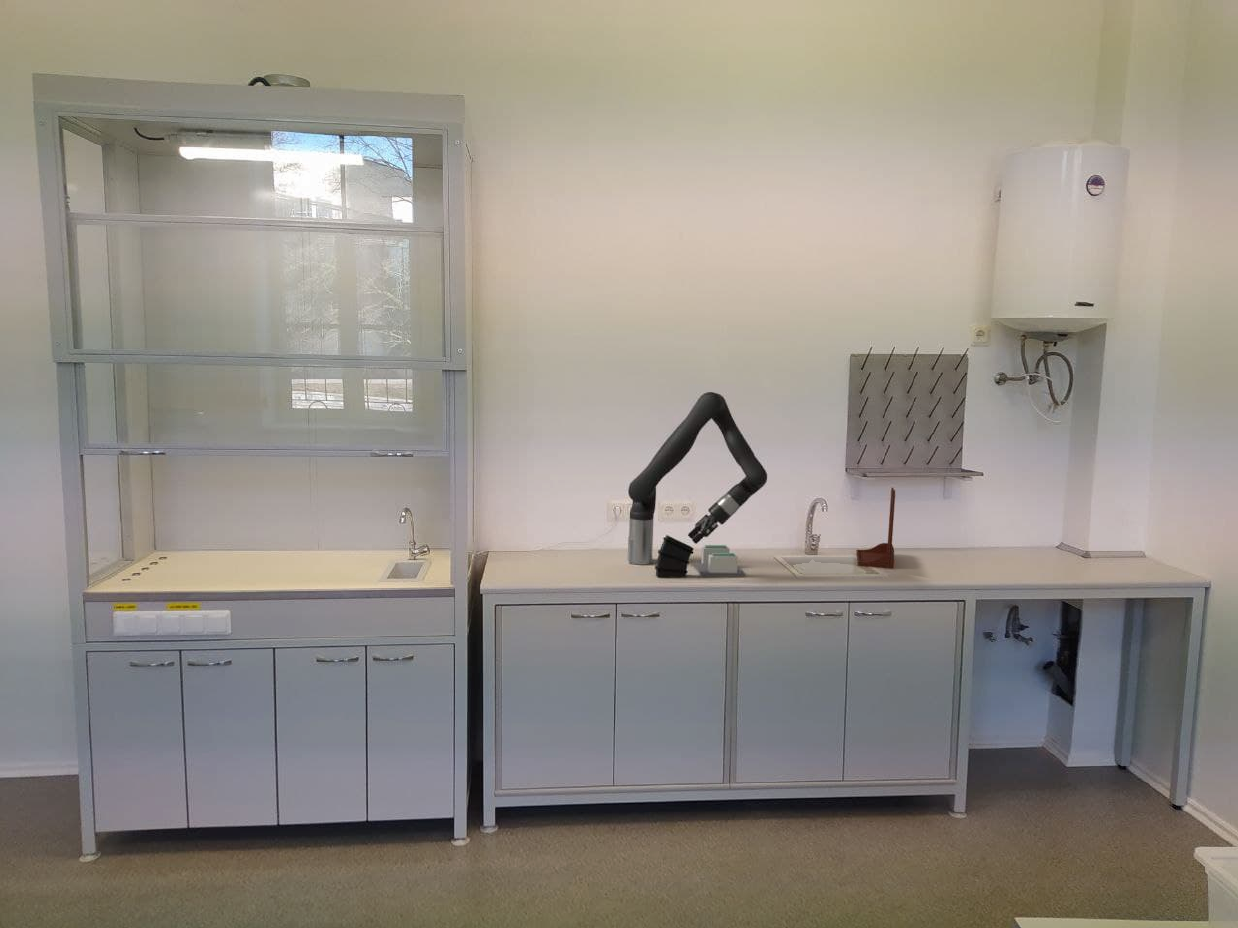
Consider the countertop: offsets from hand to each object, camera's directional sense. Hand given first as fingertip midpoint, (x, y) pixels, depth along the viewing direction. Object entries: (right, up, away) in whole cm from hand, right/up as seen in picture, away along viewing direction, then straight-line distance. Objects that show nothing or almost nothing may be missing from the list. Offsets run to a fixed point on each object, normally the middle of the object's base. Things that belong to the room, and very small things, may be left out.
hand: (691, 539), depth 278 cm
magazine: (-6, -14, +1) cm, 15 cm away
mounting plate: (+11, -13, +10) cm, 20 cm away
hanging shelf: (+77, -12, +35) cm, 86 cm away
